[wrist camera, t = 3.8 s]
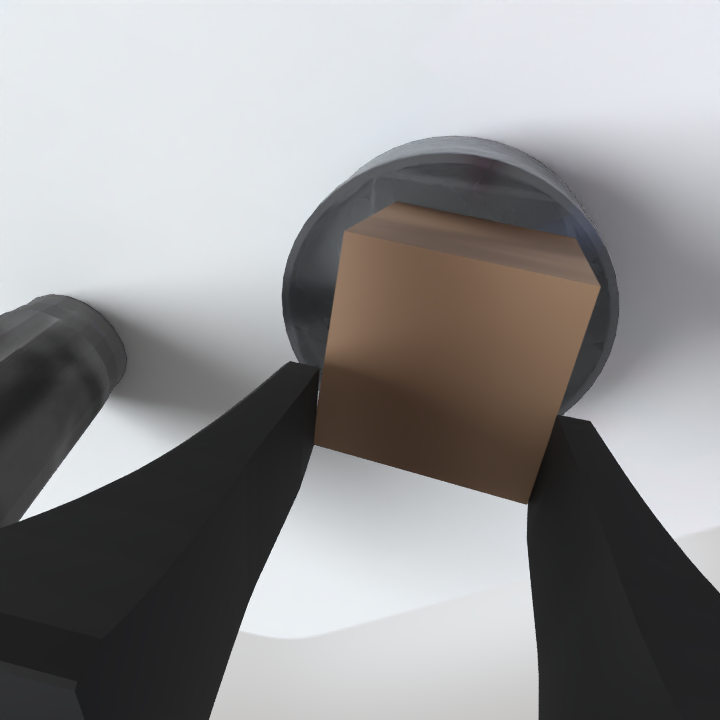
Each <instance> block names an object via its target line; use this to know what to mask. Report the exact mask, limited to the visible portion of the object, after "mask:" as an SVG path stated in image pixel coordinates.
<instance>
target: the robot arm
mask: <svg viewBox="0 0 720 720" xmlns="http://www.w3.org/2000/svg"><path fill="white" fill-rule="evenodd" d="M319 371H320V367H316V366H311V365H306V364H301V363H296V362H291V361H290V362H288V363H287V364H285V365H284V366H282V367H281V368H280V369H279V370H278V371H277V372H275V373H274V374H273V375H272V376H271V377H270V378H268V379H267V380H266V381H265V382H264V383H262V384H261V385H260V386H259V387H258V388H256V389H255V390H254V391H253V392H252V393H250V394H249V395H248V396H247V397H245V398H244V399H243V400H242V401H240V402H239V403H238V404H236V405H235V406H234V407H232V408H231V409H230V410H229V411H227V412H226V413H225V414H223V415H222V416H221V417H219V418H218V419H217V420H215V421H214V422H212V423H211V424H210V425H208V426H207V427H205V428H204V429H202V430H201V431H199V432H198V433H196V434H195V435H194V436H192V437H191V438H189V439H188V440H186V441H185V442H183V443H182V444H180V445H179V446H177V447H175V448H174V449H172V450H171V451H169V452H167V453H166V454H164V455H162V456H161V457H159V458H157V459H156V460H154V461H152V462H150V463H149V464H147V465H145V466H143V467H142V468H140V469H138V470H136V471H134V472H132V473H130V474H128V475H126V476H124V477H122V478H120V479H118V480H116V481H114V482H112V483H110V484H107V485H105V486H103V487H101V488H99V489H97V490H95V491H93V492H91V493H89V494H86V495H84V496H82V497H80V498H78V499H75V500H73V501H71V502H68V503H66V504H63V505H61V506H58V507H56V508H54V509H51V510H49V511H46V512H43V513H41V514H38V515H35V516H33V517H30V518H28V519H25V520H22V521H20V522H17V523H14V524H11V525H8V526H6V527H3V528H0V720H209V718H210V715H211V711H212V708H213V705H214V702H215V699H216V696H217V693H218V690H219V687H220V684H221V681H222V678H223V675H224V672H225V669H226V666H227V663H228V660H229V657H230V654H231V651H232V648H233V645H234V642H235V640H236V637H237V634H238V631H239V628H240V625H241V622H242V619H243V617H244V614H245V611H246V608H247V605H248V603H249V600H250V598H251V595H252V593H253V590H254V588H255V585H256V583H257V581H258V579H259V576H260V574H261V572H262V570H263V568H264V566H265V563H266V561H267V559H268V557H269V555H270V553H271V550H272V548H273V546H274V544H275V542H276V540H277V537H278V535H279V533H280V531H281V529H282V527H283V524H284V522H285V520H286V518H287V516H288V514H289V511H290V509H291V507H292V505H293V503H294V500H295V498H296V496H297V494H298V491H299V489H300V487H301V484H302V480H303V477H304V474H305V471H306V468H307V465H308V462H309V459H310V455H311V452H312V449H313V446H314V437H315V423H316V410H317V397H318V384H319ZM527 546H528V558H529V569H530V579H531V589H532V600H533V610H534V620H535V629H536V641H537V652H538V670H539V720H720V593H719V592H718V591H717V590H716V588H715V587H714V586H713V585H712V584H711V583H710V582H709V581H708V580H707V579H706V578H705V577H704V576H703V574H702V573H701V572H700V571H699V570H698V569H697V567H696V566H695V565H694V564H693V563H692V562H691V561H690V559H689V558H688V557H687V556H686V555H685V553H684V552H683V551H682V550H681V548H680V547H679V546H678V545H677V543H676V542H675V541H674V540H673V538H672V537H671V536H670V535H669V533H668V532H667V531H666V530H665V528H664V527H663V526H662V524H661V523H660V522H659V521H658V519H657V518H656V517H655V515H654V514H653V513H652V511H651V510H650V509H649V507H648V506H647V504H646V503H645V502H644V500H643V499H642V497H641V496H640V495H639V493H638V492H637V490H636V489H635V488H634V486H633V485H632V483H631V482H630V480H629V479H628V477H627V476H626V475H625V473H624V472H623V470H622V469H621V467H620V466H619V464H618V463H617V461H616V460H615V458H614V456H613V455H612V453H611V452H610V450H609V449H608V447H607V446H606V444H605V443H604V441H603V440H602V438H601V437H600V435H599V434H598V432H597V431H596V429H595V427H594V426H593V425H592V423H591V422H590V421H586V420H581V419H576V418H571V417H566V416H561V415H557V417H556V419H555V422H554V425H553V429H552V432H551V435H550V438H549V441H548V444H547V447H546V450H545V453H544V456H543V459H542V462H541V465H540V468H539V471H538V474H537V477H536V480H535V483H534V486H533V488H532V491H531V494H530V497H529V500H528V514H527Z"/></svg>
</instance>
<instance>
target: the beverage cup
mask: <svg viewBox="0 0 720 720" xmlns="http://www.w3.org/2000/svg"><path fill="white" fill-rule="evenodd" d="M126 359H127V358H126V355H125V351H124V347H123V343H122V341H121V340H120V338H119V336H118V335H117V333H116V331H115V329H114V328H113V327H112V326H111V325H110V324H109V323H108V322H107V320H106V319H105V318H104V317H103V316H102V315H101V314H100V313H98V312H97V311H95V310H94V309H92V308H91V307H89V306H88V305H86V304H85V303H83V302H80V301H78V300H75V299H73V298H70V297H68V296H60V295H51V294H50V295H46V296H42V297H37V298H35V299H34V300H32V301H31V302H30V303H28V304H27V305H23V306H21V307H19V308H17V309H15V310H13V311H11V312H6V313H4V314H2V315H0V528H3V527H6V526H8V525H11V524H14V523H17V522H19V520H20V519H21V517H22V516H23V515H24V513H25V512H26V511H27V509H28V508H29V507H30V505H31V504H32V502H33V501H34V500H35V498H36V497H37V496H38V494H39V493H40V492H41V490H42V489H43V487H44V486H45V485H46V483H47V482H48V481H49V479H50V478H51V477H52V475H53V474H54V472H55V471H56V470H57V468H58V467H59V466H60V464H61V463H62V462H63V460H64V459H65V457H66V456H67V455H68V453H69V452H70V451H71V449H72V448H73V447H74V445H75V444H76V442H77V441H78V440H79V438H80V437H81V436H82V434H83V433H84V432H85V430H86V429H87V427H88V426H89V425H90V423H91V422H92V421H93V419H94V418H95V417H96V415H97V414H98V412H99V411H100V410H101V408H102V407H103V405H104V404H105V402H106V400H107V399H108V397H109V394H110V393H111V391H112V389H113V388H114V386H115V385H116V384H117V383H118V382H119V381H120V379H121V377H122V376H123V374H124V373H125V368H126Z"/></svg>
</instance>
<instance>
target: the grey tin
mask: <svg viewBox="0 0 720 720" xmlns="http://www.w3.org/2000/svg"><path fill="white" fill-rule="evenodd" d="M396 201H398V202H403V203H408V204H413V205H418V206H422V207H427V208H432V209H437V210H442V211H447V212H451V213H456V214H461V215H466V216H471V217H476V218H481V219H485V220H490V221H495V222H500V223H505V224H510V225H515V226H519V227H524V228H529V229H534V230H539V231H544V232H549V233H553V234H558V235H563V236H568V237H573V238H576V240H577V242H578V244H579V246H580V248H581V250H582V252H583V254H584V256H585V257H586V259H587V261H588V263H589V265H590V267H591V269H592V271H593V273H594V275H595V277H596V278H597V280H598V282H599V284H600V286H601V288H600V291H599V294H598V297H597V300H596V303H595V305H594V308H593V311H592V314H591V317H590V320H589V323H588V326H587V329H586V332H585V335H584V338H583V341H582V344H581V347H580V350H579V353H578V356H577V359H576V362H575V365H574V367H573V370H572V373H571V376H570V379H569V382H568V385H567V388H566V391H565V394H564V397H563V400H562V403H561V406H560V409H559V412H558V415H563V414H564V413H565V412H566V411H568V410H569V409H570V408H571V407H572V406H573V405H575V404H576V403H577V402H578V401H579V400H580V399H581V397H582V396H583V395H584V394H585V393H586V392H587V391H588V390H589V389H590V387H591V386H592V385H593V383H594V382H595V380H596V379H597V377H598V376H599V374H600V373H601V371H602V369H603V367H604V365H605V363H606V361H607V359H608V357H609V355H610V352H611V349H612V345H613V342H614V339H615V336H616V330H617V323H618V316H619V294H618V288H617V282H616V277H615V272H614V269H613V266H612V263H611V260H610V258H609V255H608V252H607V249H606V246H605V244H604V242H603V240H602V238H601V236H600V235H599V233H598V231H597V229H596V227H595V225H594V224H593V222H592V221H591V220H590V219H589V217H588V216H587V215H586V213H585V212H584V211H583V209H582V208H581V206H580V204H579V202H578V200H577V199H576V198H575V196H574V195H573V194H572V192H571V191H570V190H569V188H568V187H567V186H566V185H565V184H564V183H563V182H562V181H561V180H560V179H559V178H558V177H557V176H556V175H555V174H554V173H553V172H552V171H551V170H550V169H548V168H547V167H546V166H544V165H543V164H541V163H540V162H539V161H537V160H536V159H534V158H533V157H531V156H529V155H527V154H525V153H523V152H521V151H519V150H517V149H515V148H512V147H510V146H507V145H504V144H501V143H498V142H495V141H491V140H486V139H481V138H476V137H463V136H445V137H432V138H427V139H422V140H417V141H413V142H410V143H407V144H404V145H401V146H398V147H396V148H393V149H391V150H389V151H387V152H385V153H383V154H381V155H379V156H377V157H376V158H374V159H373V160H371V161H370V162H368V163H367V164H366V165H364V166H363V167H361V168H360V169H359V170H358V171H357V172H356V173H355V174H353V175H352V176H351V177H350V178H349V179H348V180H346V181H345V182H343V183H342V184H341V185H339V186H338V187H337V188H336V189H335V190H334V191H333V192H332V193H330V194H329V195H328V196H327V197H326V198H325V199H324V200H323V201H322V202H321V204H320V205H319V206H318V207H317V209H316V210H315V211H314V212H313V214H312V215H311V216H310V217H309V219H308V220H307V221H306V223H305V224H304V226H303V228H302V229H301V231H300V233H299V234H298V236H297V238H296V240H295V242H294V244H293V247H292V249H291V252H290V254H289V257H288V260H287V264H286V268H285V273H284V277H283V288H282V307H283V317H284V322H285V327H286V332H287V335H288V338H289V341H290V343H291V346H292V349H293V351H294V353H295V355H296V357H297V359H298V361H299V363H301V364H306V365H311V366H316V367H320V371H319V384H318V390H319V391H320V386H321V379H322V372H323V366H324V359H325V353H326V346H327V340H328V333H329V327H330V320H331V314H332V307H333V301H334V294H335V288H336V281H337V275H338V268H339V262H340V255H341V249H342V242H343V236H344V231H345V230H347V229H348V228H350V227H352V226H354V225H355V224H357V223H359V222H361V221H363V220H364V219H366V218H368V217H370V216H371V215H373V214H375V213H377V212H379V211H380V210H382V209H384V208H386V207H387V206H389V205H391V204H393V203H394V202H396Z"/></svg>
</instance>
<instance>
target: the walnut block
mask: <svg viewBox="0 0 720 720" xmlns="http://www.w3.org/2000/svg"><path fill="white" fill-rule="evenodd" d="M600 288H601V286H600V284H599V282H598V280H597V278H596V277H595V275H594V273H593V271H592V269H591V267H590V265H589V263H588V261H587V259H586V257H585V256H584V254H583V252H582V250H581V248H580V246H579V244H578V242H577V240H576V238H573V237H568V236H563V235H558V234H553V233H549V232H544V231H539V230H534V229H529V228H524V227H519V226H515V225H510V224H505V223H500V222H495V221H490V220H485V219H481V218H476V217H471V216H466V215H461V214H456V213H451V212H447V211H442V210H437V209H432V208H427V207H422V206H418V205H413V204H408V203H403V202H398V201H396V202H394V203H393V204H391V205H389V206H387V207H386V208H384V209H382V210H380V211H379V212H377V213H375V214H373V215H371V216H370V217H368V218H366V219H364V220H363V221H361V222H359V223H357V224H355V225H354V226H352V227H350V228H348V229H347V230H345V231H344V236H343V242H342V249H341V255H340V262H339V268H338V275H337V281H336V288H335V294H334V301H333V307H332V314H331V320H330V327H329V333H328V340H327V346H326V353H325V359H324V366H323V372H322V379H321V386H320V392H319V399H318V405H317V412H316V423H315V437H314V445H318V446H321V447H325V448H328V449H332V450H335V451H339V452H342V453H346V454H349V455H353V456H356V457H360V458H363V459H367V460H371V461H374V462H378V463H381V464H385V465H388V466H392V467H395V468H399V469H402V470H406V471H409V472H413V473H417V474H420V475H424V476H427V477H431V478H434V479H438V480H441V481H445V482H448V483H452V484H455V485H459V486H462V487H466V488H470V489H473V490H477V491H480V492H484V493H487V494H491V495H494V496H498V497H501V498H505V499H508V500H512V501H515V502H519V503H523V504H526V505H527V503H528V500H529V497H530V494H531V491H532V488H533V486H534V483H535V480H536V477H537V474H538V471H539V468H540V465H541V462H542V459H543V456H544V453H545V450H546V447H547V444H548V441H549V438H550V435H551V432H552V429H553V425H554V422H555V419H556V417H557V415H558V412H559V409H560V406H561V403H562V400H563V397H564V394H565V391H566V388H567V385H568V382H569V379H570V376H571V373H572V370H573V367H574V365H575V362H576V359H577V356H578V353H579V350H580V347H581V344H582V341H583V338H584V335H585V332H586V329H587V326H588V323H589V320H590V317H591V314H592V311H593V308H594V305H595V303H596V300H597V297H598V294H599V291H600Z"/></svg>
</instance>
